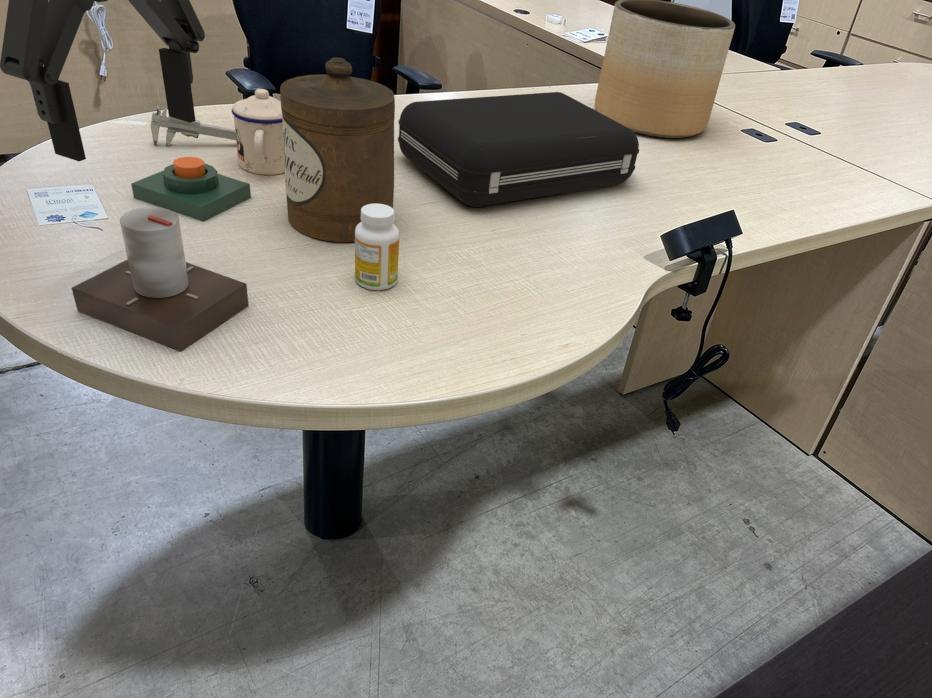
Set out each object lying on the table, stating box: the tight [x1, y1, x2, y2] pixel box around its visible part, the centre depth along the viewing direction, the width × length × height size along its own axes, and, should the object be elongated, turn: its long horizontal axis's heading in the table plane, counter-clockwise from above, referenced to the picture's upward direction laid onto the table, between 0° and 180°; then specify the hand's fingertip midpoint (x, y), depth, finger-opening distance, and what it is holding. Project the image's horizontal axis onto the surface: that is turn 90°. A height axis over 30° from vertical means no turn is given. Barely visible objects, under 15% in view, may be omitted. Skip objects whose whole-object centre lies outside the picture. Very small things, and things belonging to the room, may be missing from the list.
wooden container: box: [279, 56, 396, 243], centre depth 99 cm, size 15×15×22 cm
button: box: [172, 156, 206, 178], centre depth 103 cm, size 4×4×2 cm
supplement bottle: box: [354, 204, 400, 291], centre depth 91 cm, size 5×5×10 cm
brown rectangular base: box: [71, 258, 249, 352], centre depth 82 cm, size 14×11×3 cm
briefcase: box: [397, 91, 640, 208], centre depth 128 cm, size 36×32×10 cm
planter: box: [594, 0, 736, 139], centre depth 157 cm, size 25×25×22 cm
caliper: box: [150, 105, 236, 147], centre depth 120 cm, size 20×1×6 cm, turn 110°
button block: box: [130, 163, 252, 222], centre depth 104 cm, size 12×10×4 cm
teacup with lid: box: [231, 88, 285, 176], centre depth 113 cm, size 12×9×12 cm
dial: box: [119, 206, 189, 298], centre depth 79 cm, size 6×6×8 cm
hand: (130, 136), depth 70 cm, fingers open, 13 cm apart
